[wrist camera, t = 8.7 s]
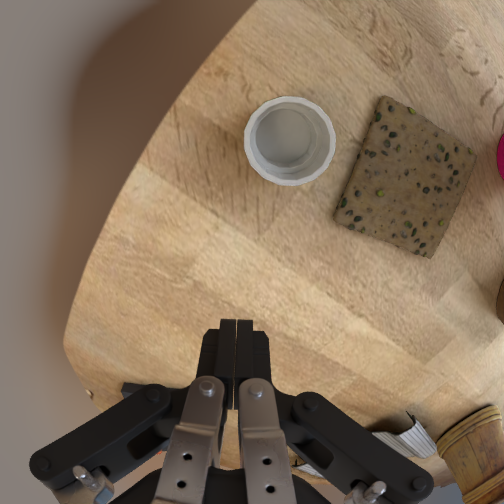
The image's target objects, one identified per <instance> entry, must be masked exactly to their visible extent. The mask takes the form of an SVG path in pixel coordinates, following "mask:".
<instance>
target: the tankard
mask: <svg viewBox="0 0 504 504" xmlns="http://www.w3.org/2000/svg"><path fill="white" fill-rule="evenodd" d="M501 420H502V416H501V414H500V411H499V408H498V406H497V405H493V406H489V407H487V408H484V409H482V410H480V411H478V412H477V413H475V414H473V415H471V416H470V417H468V418H467V419H465V420H463V421H462V422H460V423H459V424H458V425H456V426H455V427H454V428H452V429H451V430H450V431H448V432H447V433H446V434H445V435H443V436H442V437H441V438H440V439H439V440H438V442H437V443H436V446H437V452H438V454H439V456H440V458H442V459H444V460H445V462H446V464H447V466H448V468H449V470H450V471H451V473H452V475H453V477H454V478H455V480H456V482H457V484H458V486H459V488H460V490H461V492H462V495H463V496H462V500H463V502H464V503H465V504H501V503H502V502H504V430H503V427H502V424H501Z"/></svg>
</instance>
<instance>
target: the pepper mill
mask: <svg viewBox="0 0 504 504" xmlns="http://www.w3.org/2000/svg"><path fill="white" fill-rule="evenodd" d="M497 164H498V169H499V172H500V175H501V177H502V178H503V180H504V135H503V136H502V138H501V140H500V142H499V146H498V151H497Z"/></svg>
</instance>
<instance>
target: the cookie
mask: <svg viewBox="0 0 504 504" xmlns="http://www.w3.org/2000/svg"><path fill="white" fill-rule="evenodd" d="M363 142H364V144H363V147H362V150H361V152H360V153H359V154H358V156H357V161H356V163H355V167H354V170H353V173H352V175H351V178H350V180H349V182H348V184H347V186H346V190H345V192H344V193H343V194H342V199H341V202H340V204H339V206H337V207H336V208H337V210H336V212H335V214H334V218H333V220H334V221H335V222H336V223H338V224H341V225H343V226H345V227H347V228H348V229H350V230H357V231H359V232H361V233H365V234H367V235H369V236H372V237H374V238H378V239H381V240H384V241H386V242H389V243H392V244H394V245H395V246H397V247H402V248H404V249H406V250H408V251H410V252H412V253H414V254H415V255H418V254H419V255H421V256H423V257H427V258H429V259H431V258H432V256H433V255H434V253H435V251H436V249H437V247H438V245H439V243H440V241H441V239H442V237H443V236H444V233H445V231H446V230H447V228H448V225H449V223H450V220H451V219H452V216H453V214H454V212H455V209H456V207H457V205H458V203H459V201H460V198H461V196H462V194H463V192H464V189H465V187H466V184H467V182H468V179H469V177H470V174H471V172H472V169H473V167H474V163H475V161H476V159H477V156H476V155H475V154H474V153H473V152H472V150H471V149H470V148H467V147H466V146H464V145H463V144H462V143H460V142H459V141H458V140H457V139H455V138H453V137H451V136H450V135H449V134H447V133H446V132H445V131H444V130H442V129H440V128H439V127H437V126H435V125H434V124H433V123H432V122H430V121H429V120H427V119H426V118H424V117H423V116H421V115H419V114H417V113H416V112H415V111H414V110H413V109H412V108H410V107H406V106H404V105H403V104H401V103H399V102H397V101H395V100H394V99H392V98H390V97H387V96H382V97H381V99H380V101H379V105H378V107H377V110H376V111H375V116H374V119H373V121H372V122H371V123H370V128H369V131H368V134H367V137H366V138H364V141H363Z"/></svg>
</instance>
